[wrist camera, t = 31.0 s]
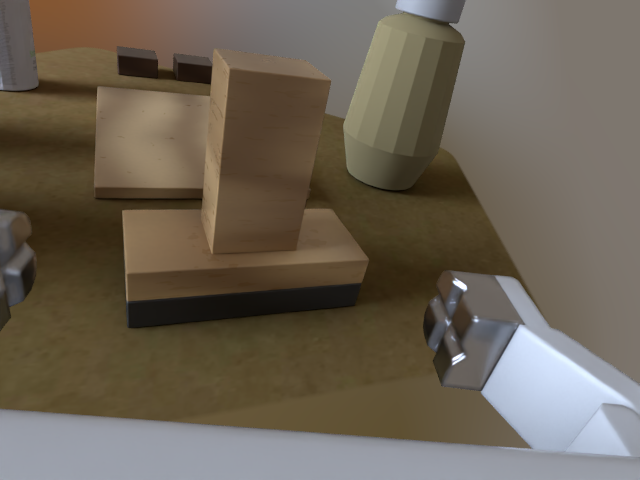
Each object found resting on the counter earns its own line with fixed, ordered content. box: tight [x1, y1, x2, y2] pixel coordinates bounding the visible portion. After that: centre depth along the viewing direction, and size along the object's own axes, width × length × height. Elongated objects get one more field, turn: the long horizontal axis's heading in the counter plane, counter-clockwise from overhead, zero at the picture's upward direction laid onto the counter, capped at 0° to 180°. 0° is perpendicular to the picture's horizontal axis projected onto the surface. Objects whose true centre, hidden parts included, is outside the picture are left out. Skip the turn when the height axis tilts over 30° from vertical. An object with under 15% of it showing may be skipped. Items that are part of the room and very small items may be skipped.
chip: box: [117, 46, 158, 78], centre depth 51 cm, size 4×4×2 cm
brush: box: [122, 48, 369, 328], centre depth 21 cm, size 11×5×11 cm, turn 111°
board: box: [94, 86, 311, 199], centre depth 38 cm, size 14×20×1 cm
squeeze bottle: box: [343, 0, 465, 190], centre depth 35 cm, size 8×8×18 cm
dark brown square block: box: [173, 54, 213, 84], centre depth 53 cm, size 4×4×2 cm
